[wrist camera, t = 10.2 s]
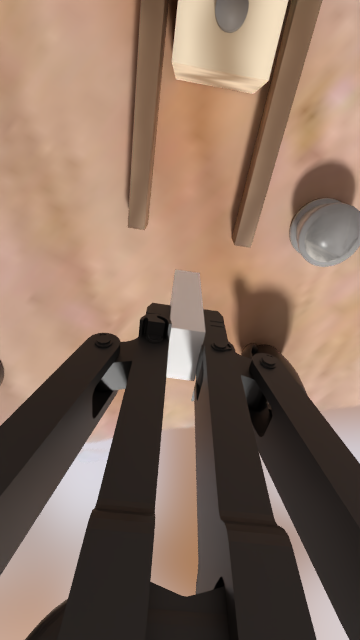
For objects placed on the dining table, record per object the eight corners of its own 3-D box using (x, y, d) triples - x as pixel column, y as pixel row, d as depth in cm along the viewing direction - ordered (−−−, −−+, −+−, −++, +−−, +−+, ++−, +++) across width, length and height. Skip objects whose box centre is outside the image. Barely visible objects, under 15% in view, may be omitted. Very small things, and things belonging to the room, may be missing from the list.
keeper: (176, 79, 29) (171, 59, 22) (187, -22, 25) (185, -80, 19) (253, 94, 29) (270, 79, 23) (275, -4, 26) (303, -55, 19)
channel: (132, 221, 37) (124, 231, 32) (151, -68, 24) (142, -114, 20) (246, 240, 37) (253, 253, 33) (322, -31, 25) (349, -68, 21)
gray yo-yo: (281, 251, 38) (290, 261, 35) (301, 193, 34) (313, 198, 31) (333, 259, 38) (347, 271, 35) (359, 203, 35) (377, 209, 31)
